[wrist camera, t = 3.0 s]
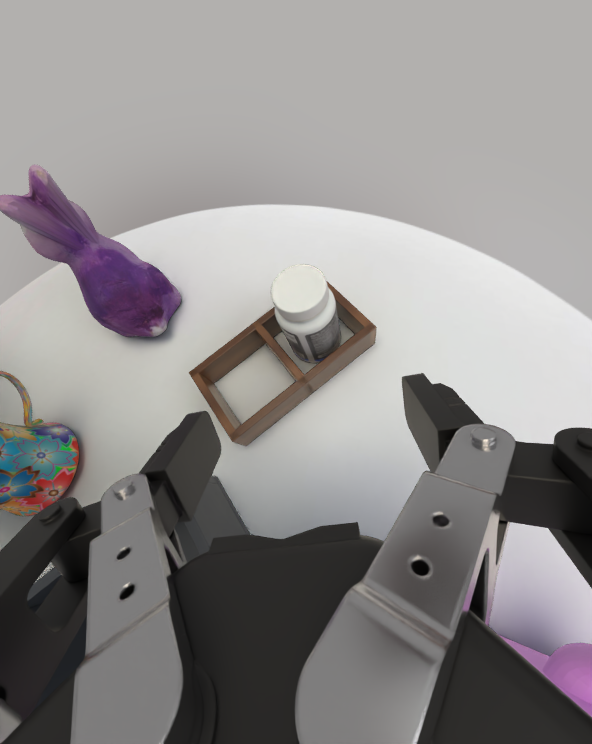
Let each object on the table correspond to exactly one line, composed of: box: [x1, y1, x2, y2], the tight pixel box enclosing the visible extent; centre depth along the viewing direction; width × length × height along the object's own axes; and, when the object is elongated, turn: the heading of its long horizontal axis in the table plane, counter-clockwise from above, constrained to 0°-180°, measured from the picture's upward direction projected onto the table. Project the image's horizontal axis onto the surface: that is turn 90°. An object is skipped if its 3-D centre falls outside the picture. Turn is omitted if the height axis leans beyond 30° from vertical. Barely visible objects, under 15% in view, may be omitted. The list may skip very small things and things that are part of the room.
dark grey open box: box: [27, 476, 250, 711], centre depth 19 cm, size 13×13×7 cm
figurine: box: [0, 165, 181, 337], centre depth 27 cm, size 9×10×15 cm
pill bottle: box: [271, 264, 341, 363], centre depth 24 cm, size 5×5×8 cm
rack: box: [189, 282, 376, 446], centre depth 27 cm, size 8×15×3 cm, turn 127°
